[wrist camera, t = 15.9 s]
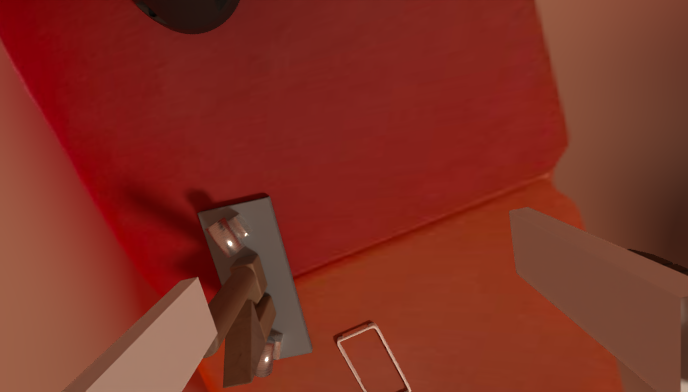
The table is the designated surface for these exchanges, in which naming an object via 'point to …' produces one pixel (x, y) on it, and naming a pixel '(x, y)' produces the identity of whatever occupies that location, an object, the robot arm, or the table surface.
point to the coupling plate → (264, 268)
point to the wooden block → (242, 320)
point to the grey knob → (269, 354)
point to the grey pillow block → (229, 234)
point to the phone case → (373, 325)
